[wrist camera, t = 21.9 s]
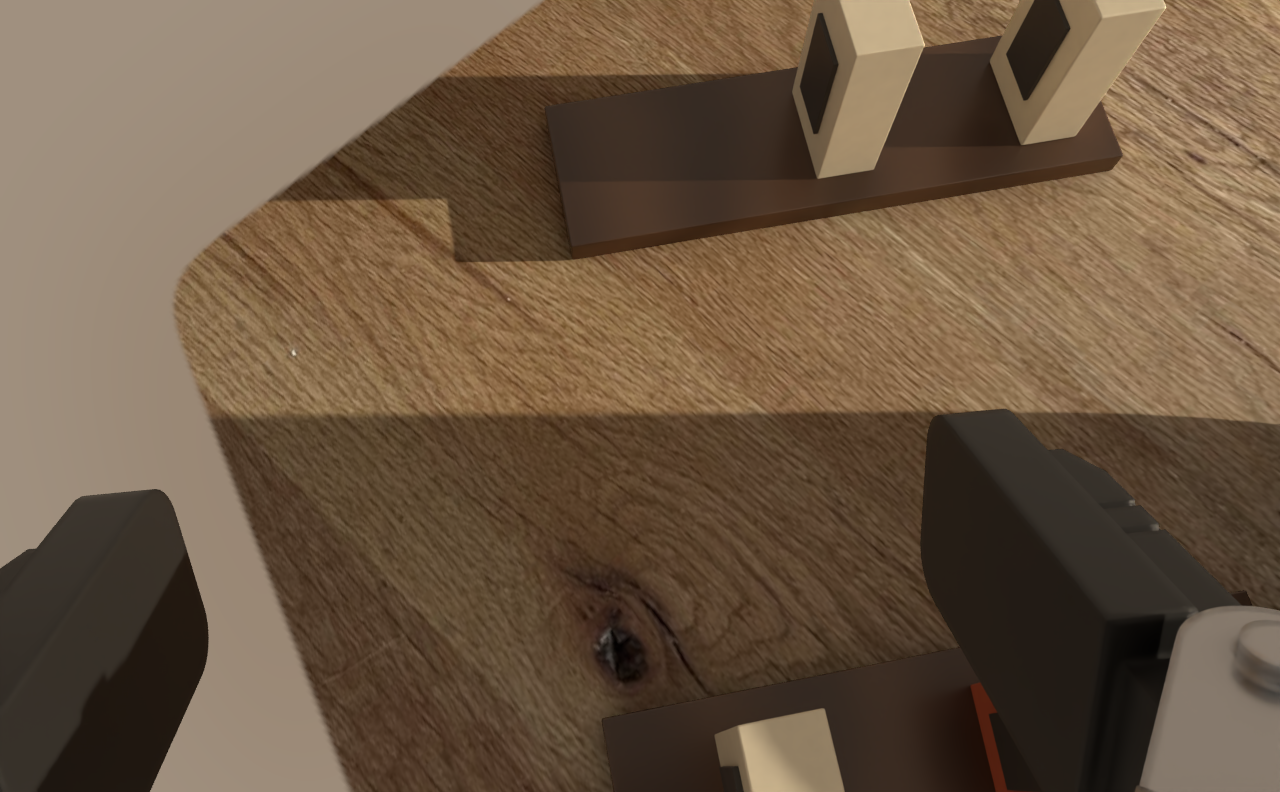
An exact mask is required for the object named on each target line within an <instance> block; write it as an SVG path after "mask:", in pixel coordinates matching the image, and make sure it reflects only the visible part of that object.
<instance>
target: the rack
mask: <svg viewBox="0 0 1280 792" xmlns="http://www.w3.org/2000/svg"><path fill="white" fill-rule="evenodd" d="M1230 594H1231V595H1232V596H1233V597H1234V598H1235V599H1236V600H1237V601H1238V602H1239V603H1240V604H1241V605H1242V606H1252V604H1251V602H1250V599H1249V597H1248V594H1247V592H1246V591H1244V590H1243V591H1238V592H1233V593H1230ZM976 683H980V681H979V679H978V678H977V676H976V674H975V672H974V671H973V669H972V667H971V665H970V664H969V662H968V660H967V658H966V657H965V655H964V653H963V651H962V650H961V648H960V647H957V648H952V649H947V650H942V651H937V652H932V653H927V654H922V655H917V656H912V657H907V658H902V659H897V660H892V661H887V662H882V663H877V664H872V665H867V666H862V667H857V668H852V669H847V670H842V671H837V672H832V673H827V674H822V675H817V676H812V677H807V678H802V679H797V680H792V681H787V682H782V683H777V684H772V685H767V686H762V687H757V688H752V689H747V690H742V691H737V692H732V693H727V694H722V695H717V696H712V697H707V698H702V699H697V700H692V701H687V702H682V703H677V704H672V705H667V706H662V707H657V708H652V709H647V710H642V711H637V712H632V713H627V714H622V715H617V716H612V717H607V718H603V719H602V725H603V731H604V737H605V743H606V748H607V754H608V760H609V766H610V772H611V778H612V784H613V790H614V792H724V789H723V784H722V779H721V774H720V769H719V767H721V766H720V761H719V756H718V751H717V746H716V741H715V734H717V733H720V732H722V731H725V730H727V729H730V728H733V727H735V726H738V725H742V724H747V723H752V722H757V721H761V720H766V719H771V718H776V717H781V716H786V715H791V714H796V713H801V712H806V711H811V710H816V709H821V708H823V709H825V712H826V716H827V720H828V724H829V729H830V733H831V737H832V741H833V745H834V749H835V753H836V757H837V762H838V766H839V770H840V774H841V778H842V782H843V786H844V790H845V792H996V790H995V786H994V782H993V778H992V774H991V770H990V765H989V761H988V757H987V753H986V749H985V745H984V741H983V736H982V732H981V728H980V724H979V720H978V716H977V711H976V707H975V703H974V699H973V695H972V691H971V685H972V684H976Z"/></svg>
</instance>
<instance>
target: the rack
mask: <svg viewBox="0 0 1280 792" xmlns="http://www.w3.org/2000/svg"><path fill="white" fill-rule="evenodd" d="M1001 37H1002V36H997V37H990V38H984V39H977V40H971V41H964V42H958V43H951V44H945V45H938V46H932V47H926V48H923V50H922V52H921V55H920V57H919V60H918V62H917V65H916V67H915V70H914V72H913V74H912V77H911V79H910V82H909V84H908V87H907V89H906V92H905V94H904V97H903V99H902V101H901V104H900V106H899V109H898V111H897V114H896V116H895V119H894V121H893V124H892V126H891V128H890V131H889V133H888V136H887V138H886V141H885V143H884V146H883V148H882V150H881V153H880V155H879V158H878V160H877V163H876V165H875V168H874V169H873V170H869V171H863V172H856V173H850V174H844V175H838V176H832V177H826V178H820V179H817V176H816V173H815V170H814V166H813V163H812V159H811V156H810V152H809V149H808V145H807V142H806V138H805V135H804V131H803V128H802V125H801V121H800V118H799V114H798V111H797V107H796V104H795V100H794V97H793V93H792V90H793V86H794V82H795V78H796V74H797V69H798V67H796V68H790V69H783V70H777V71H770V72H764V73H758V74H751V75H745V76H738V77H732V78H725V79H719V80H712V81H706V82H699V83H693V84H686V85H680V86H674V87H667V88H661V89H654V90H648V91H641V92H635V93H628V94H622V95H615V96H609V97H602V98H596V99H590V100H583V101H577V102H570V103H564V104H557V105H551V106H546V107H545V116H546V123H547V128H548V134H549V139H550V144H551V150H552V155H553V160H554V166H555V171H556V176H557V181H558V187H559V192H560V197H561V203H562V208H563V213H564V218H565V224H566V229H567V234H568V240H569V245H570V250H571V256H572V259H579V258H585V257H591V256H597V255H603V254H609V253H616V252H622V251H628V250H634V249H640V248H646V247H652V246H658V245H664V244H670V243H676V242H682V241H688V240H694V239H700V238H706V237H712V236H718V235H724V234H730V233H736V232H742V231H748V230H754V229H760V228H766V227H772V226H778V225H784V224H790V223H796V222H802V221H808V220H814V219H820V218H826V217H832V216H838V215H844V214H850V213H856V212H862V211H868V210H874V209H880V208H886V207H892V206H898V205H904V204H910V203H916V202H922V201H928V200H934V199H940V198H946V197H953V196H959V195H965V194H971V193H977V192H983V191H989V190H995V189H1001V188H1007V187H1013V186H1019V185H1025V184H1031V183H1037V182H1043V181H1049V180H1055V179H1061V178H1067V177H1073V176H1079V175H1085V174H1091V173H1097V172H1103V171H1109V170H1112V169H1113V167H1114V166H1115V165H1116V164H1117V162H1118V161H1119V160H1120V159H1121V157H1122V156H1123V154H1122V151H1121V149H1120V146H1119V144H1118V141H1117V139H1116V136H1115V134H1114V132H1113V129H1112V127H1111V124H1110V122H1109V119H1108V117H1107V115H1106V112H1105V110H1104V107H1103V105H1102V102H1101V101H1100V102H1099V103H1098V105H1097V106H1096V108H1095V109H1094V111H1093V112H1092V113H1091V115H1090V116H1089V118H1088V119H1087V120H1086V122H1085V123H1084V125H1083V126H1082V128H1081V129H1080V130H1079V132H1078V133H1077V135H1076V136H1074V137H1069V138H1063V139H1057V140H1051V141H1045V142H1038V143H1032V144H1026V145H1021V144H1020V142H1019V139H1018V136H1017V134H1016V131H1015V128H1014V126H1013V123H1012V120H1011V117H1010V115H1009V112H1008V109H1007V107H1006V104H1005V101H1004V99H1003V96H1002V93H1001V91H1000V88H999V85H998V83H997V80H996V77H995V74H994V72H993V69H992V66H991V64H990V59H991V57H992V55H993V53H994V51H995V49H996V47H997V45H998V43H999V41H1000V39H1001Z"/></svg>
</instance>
